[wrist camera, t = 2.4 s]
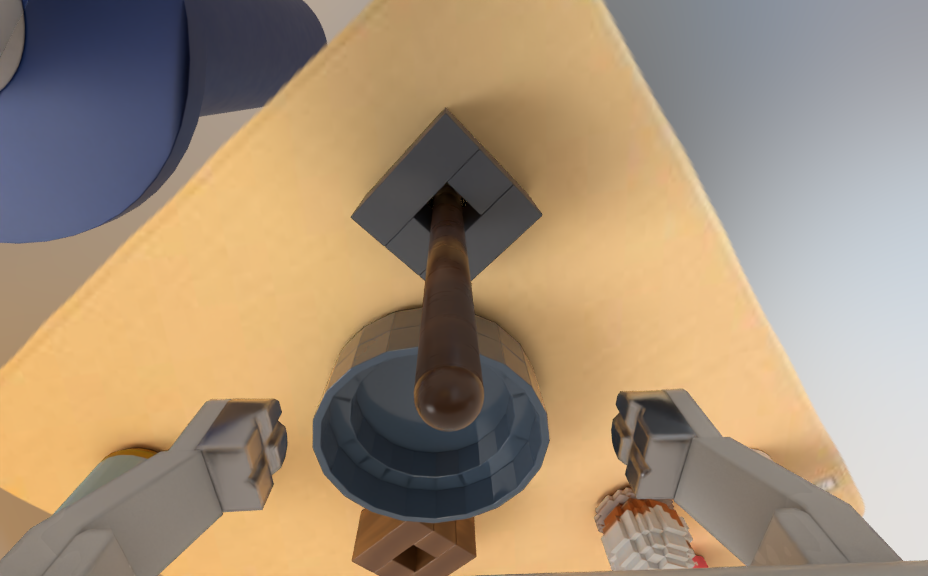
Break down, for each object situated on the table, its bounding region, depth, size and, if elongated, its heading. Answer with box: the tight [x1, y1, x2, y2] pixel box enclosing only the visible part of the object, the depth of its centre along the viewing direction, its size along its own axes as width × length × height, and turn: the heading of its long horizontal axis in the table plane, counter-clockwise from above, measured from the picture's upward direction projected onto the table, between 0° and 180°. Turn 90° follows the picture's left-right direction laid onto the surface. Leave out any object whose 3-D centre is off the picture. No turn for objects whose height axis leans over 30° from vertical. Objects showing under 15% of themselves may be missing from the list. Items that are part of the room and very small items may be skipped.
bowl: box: [313, 308, 550, 523], centre depth 35 cm, size 17×17×6 cm
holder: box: [352, 508, 476, 576], centre depth 41 cm, size 8×8×5 cm
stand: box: [351, 108, 542, 281], centre depth 28 cm, size 8×8×5 cm
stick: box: [414, 185, 484, 432], centre depth 20 cm, size 2×2×22 cm
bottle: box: [53, 448, 157, 515], centre depth 33 cm, size 7×7×15 cm
